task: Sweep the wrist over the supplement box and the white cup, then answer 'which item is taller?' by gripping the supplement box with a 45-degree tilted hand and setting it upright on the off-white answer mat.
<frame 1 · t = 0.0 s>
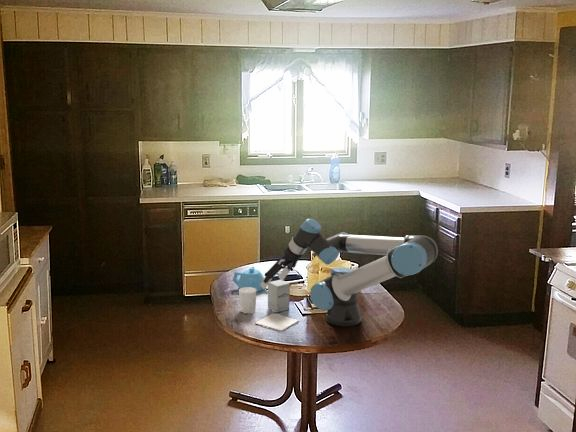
hand: (271, 282, 271), 15 cm above the table, tool tilted 35°, fingers open, 13 cm apart
teapot: (252, 289, 309), on the table
supplement box: (278, 309, 283), on the table
white cup: (247, 311, 280), on the table
answer mat: (277, 322, 266), on the table
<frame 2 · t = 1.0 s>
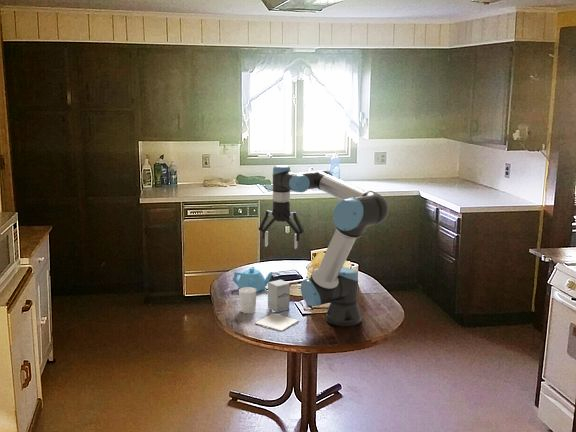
hand: (281, 247, 277), 29 cm above the table, tool pointing down, fingers open, 13 cm apart
nothing on the table moved.
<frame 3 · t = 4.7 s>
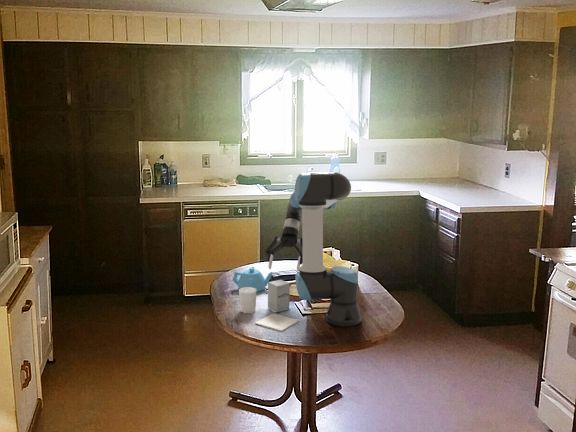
hand: (283, 269, 289), 16 cm above the table, tool tilted 45°, fingers open, 13 cm apart
nothing on the table moved.
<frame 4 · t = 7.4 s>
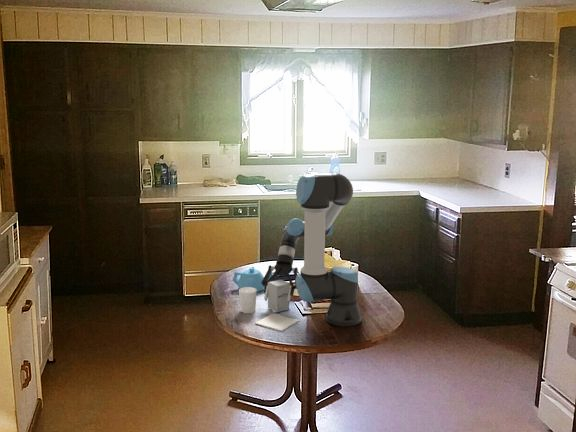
hand: (276, 300, 279), 5 cm above the table, tool tilted 45°, fingers closed on supplement box, 10 cm apart
supplement box: (278, 309, 283), on the table, touching gripper
everything else where it was.
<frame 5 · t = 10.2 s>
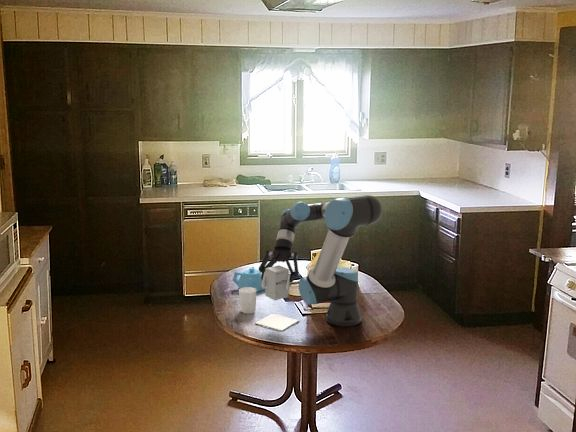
hand: (275, 287, 260), 17 cm above the table, tool tilted 45°, fingers closed on supplement box, 10 cm apart
supplement box: (277, 297, 264), point 12 cm above the table, touching gripper
everything else where it was.
when the fingers open (7 cm above the table, at t = 13.0 s): supplement box drops 1 cm, resting on answer mat.
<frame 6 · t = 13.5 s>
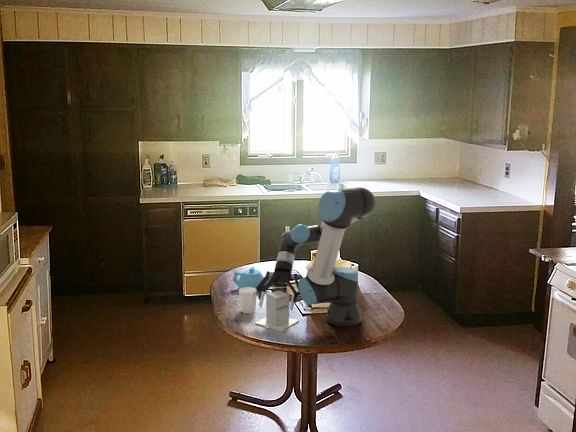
hand: (275, 308, 262), 8 cm above the table, tool tilted 45°, fingers open, 13 cm apart
supplement box: (277, 322, 266), resting on answer mat
everything else where it was.
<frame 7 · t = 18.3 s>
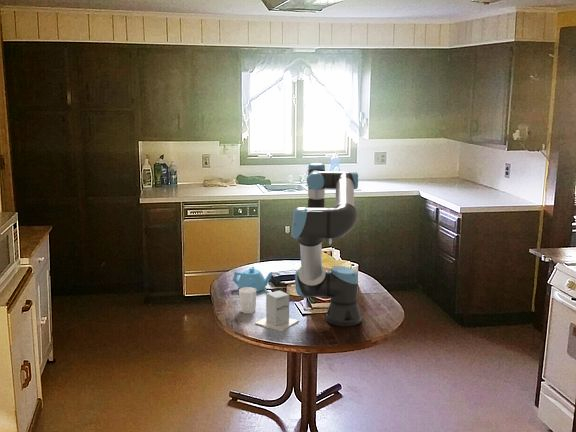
hand: (315, 242, 285), 29 cm above the table, tool pointing down, fingers open, 13 cm apart
nothing on the table moved.
at the end: supplement box inside the target area on the answer mat (0.2 cm from its centre), point 0.4 cm above the answer mat's base; supplement box tilted 0°; white cup moved 0.2 cm from its start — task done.
